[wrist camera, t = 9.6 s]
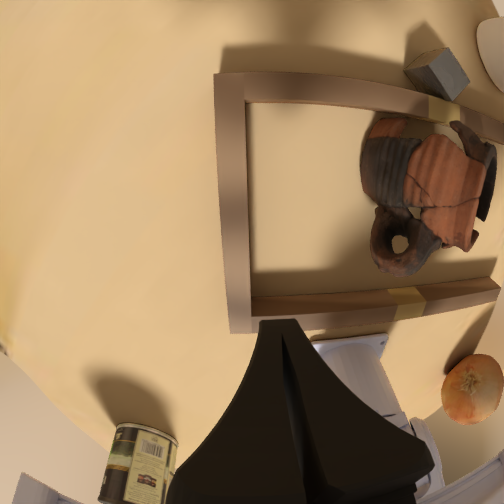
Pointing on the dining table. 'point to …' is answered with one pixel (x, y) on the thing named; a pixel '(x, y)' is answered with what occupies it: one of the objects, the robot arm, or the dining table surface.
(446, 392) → the onion
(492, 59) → the pill bottle
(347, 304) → the walnut slot beam
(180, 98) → the dining table surface
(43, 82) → the dining table surface
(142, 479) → the coffee can
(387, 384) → the robot arm
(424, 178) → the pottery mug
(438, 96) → the block
